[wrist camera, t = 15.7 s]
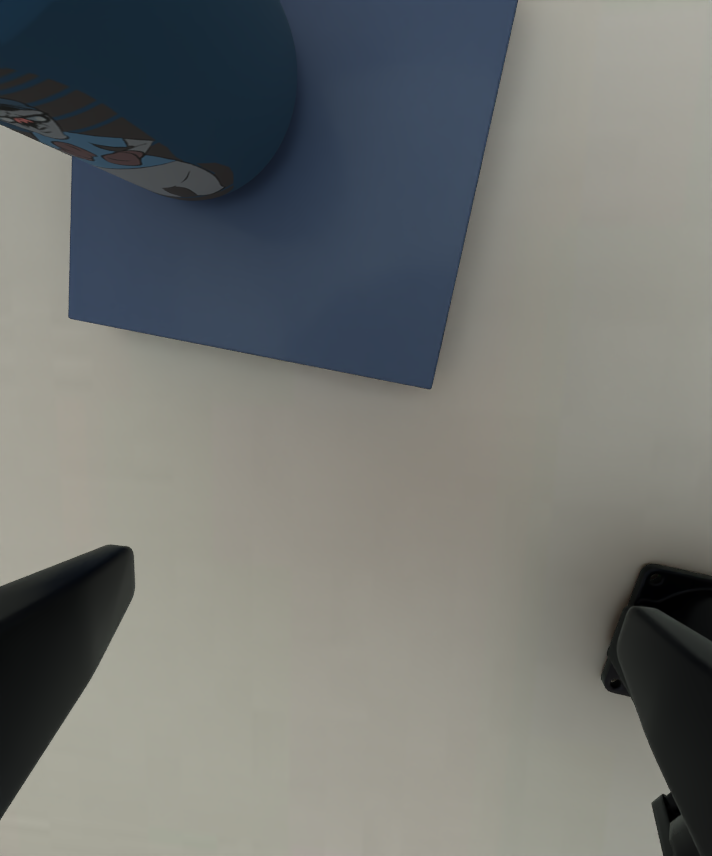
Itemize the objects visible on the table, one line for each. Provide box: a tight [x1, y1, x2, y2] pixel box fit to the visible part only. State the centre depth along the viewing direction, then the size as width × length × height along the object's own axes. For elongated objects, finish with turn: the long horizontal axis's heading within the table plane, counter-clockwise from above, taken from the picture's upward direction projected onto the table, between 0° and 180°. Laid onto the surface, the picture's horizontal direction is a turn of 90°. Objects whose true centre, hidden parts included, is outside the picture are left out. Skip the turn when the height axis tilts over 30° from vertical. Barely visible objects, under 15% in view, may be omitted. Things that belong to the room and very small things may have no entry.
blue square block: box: [68, 0, 518, 389], centre depth 18 cm, size 14×14×3 cm
